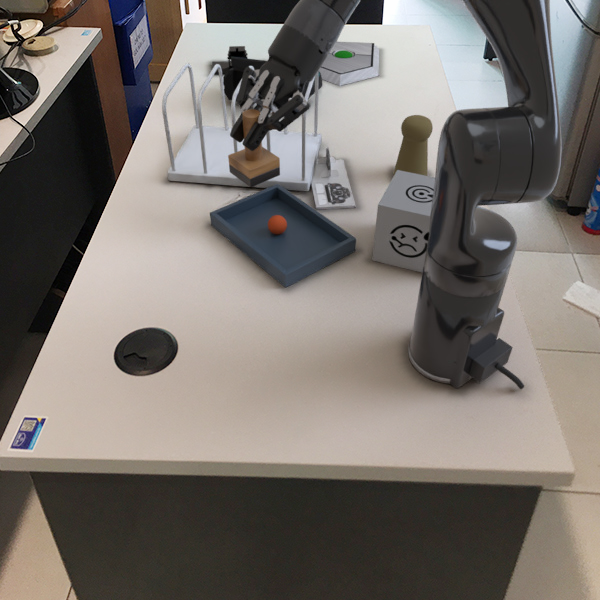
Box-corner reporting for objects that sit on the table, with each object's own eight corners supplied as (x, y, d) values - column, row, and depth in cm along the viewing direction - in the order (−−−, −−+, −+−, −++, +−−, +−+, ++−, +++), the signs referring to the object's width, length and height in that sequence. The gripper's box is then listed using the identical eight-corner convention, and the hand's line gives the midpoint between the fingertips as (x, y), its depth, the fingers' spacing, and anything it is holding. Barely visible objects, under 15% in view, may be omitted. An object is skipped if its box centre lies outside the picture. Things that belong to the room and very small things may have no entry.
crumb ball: (290, 233, 99) (290, 217, 97) (275, 240, 98) (275, 225, 96) (279, 224, 101) (278, 209, 99) (264, 231, 99) (263, 216, 97)
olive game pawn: (426, 186, 110) (435, 128, 102) (391, 183, 110) (398, 125, 103) (428, 169, 114) (437, 112, 106) (394, 165, 115) (401, 108, 107)
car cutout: (307, 163, 115) (307, 140, 112) (342, 161, 116) (344, 139, 113) (315, 209, 104) (316, 186, 101) (355, 207, 105) (357, 184, 102)
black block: (210, 75, 144) (208, 55, 141) (212, 62, 150) (210, 43, 146) (265, 73, 145) (264, 53, 141) (264, 61, 150) (263, 41, 147)
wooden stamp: (280, 175, 97) (278, 114, 90) (250, 187, 94) (246, 126, 87) (258, 160, 100) (255, 100, 93) (229, 172, 97) (224, 111, 90)
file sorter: (167, 182, 111) (152, 97, 100) (195, 134, 123) (183, 55, 113) (308, 192, 108) (307, 106, 97) (321, 142, 120) (322, 61, 110)
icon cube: (452, 238, 99) (463, 183, 92) (437, 276, 92) (448, 220, 85) (390, 224, 101) (397, 169, 95) (372, 260, 95) (377, 204, 88)
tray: (355, 251, 96) (356, 238, 95) (285, 287, 90) (285, 275, 88) (278, 195, 108) (277, 183, 106) (210, 225, 101) (209, 212, 100)
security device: (301, 84, 141) (301, 75, 139) (310, 46, 157) (311, 38, 155) (378, 88, 139) (378, 79, 138) (379, 49, 156) (380, 41, 154)
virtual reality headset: (214, 104, 130) (213, 54, 125) (255, 80, 148) (255, 34, 142) (299, 117, 126) (301, 65, 120) (330, 90, 143) (334, 44, 138)
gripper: (261, 10, 90) (198, 114, 93) (324, 39, 82) (253, 152, 85) (290, 39, 96) (230, 136, 99) (352, 68, 88) (285, 173, 91)
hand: (241, 143), depth 92 cm, fingers closed on wooden stamp, 2 cm apart
